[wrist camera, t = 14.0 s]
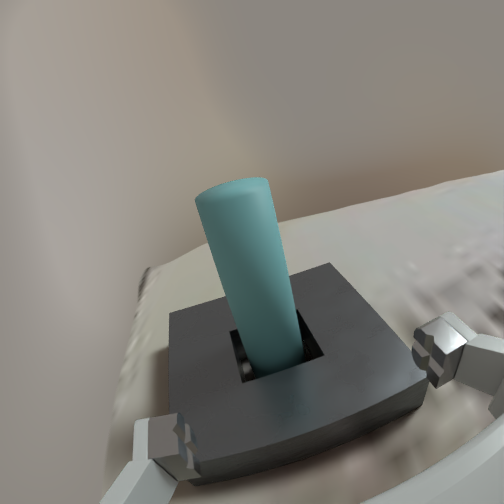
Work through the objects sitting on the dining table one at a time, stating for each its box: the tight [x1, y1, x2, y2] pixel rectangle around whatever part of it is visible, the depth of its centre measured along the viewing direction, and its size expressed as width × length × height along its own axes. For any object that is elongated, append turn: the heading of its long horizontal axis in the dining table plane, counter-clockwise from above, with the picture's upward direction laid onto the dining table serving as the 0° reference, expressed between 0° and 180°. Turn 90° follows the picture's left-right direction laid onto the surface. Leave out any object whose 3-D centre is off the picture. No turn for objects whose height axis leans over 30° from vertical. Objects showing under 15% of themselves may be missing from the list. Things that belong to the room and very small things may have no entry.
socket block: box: [169, 263, 429, 486], centre depth 20 cm, size 14×14×3 cm
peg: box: [195, 178, 306, 379], centre depth 18 cm, size 4×4×13 cm
